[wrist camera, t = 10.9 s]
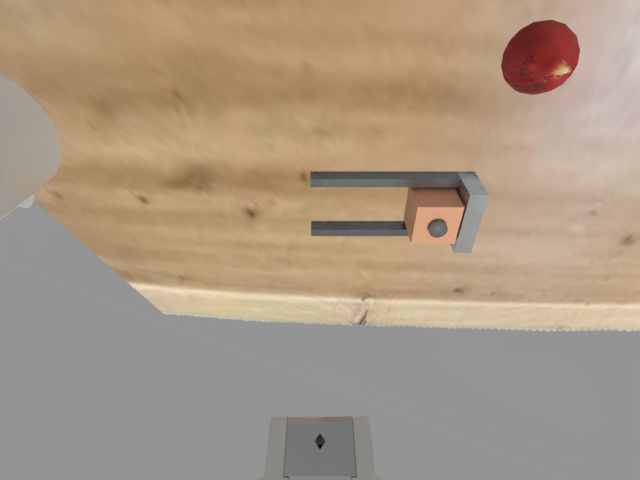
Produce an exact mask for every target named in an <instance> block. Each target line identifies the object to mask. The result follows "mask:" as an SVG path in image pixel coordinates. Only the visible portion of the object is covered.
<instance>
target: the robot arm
mask: <svg viewBox="0 0 640 480" xmlns="http://www.w3.org/2000/svg"><path fill="white" fill-rule="evenodd" d="M60 162H61V146H60V142H59V138H58V135H57V133H56V130H55V128H54V126H53V124H52V122H51V121H50V119H49V118H48V116H47V115H46V113H45V112H44V110H43V109H42V108H41V107H40V105H39V104H38V103H37V102H36V101H35V100H34V99H33V98H32V97H31V96H30V95H29V94H28V93H27V92H26V91H25V90H24V89H22V88H21V87H20V86H19V85H17V84H16V83H15V82H13V81H12V80H11V79H9V78H8V77H6V76H4V75H3V74H1V73H0V220H1V219H2V218H3V217H5V216H6V215H8V214H9V213H10V212H12V211H13V210H14V209H16V208H17V207H19V208H29V207H31V206H32V205H33V204H35V203H36V202H37V200H38V197H39V193H40V189H41V188H42V186H43V185H44V184H46V183H47V182H48V181H49V180H51V179H52V178H53V177H54V175H55V174H56V172H57V171H58V169H59V166H60ZM258 480H382V479H381V478H380V477H376V474H375V465H374V455H373V446H372V435H371V426H370V420H369V417H368V416H341V417H296V416H295V417H294V416H293V417H292V416H290V417H288V416H285V417H271V421H270V425H269V435H268V445H267V455H266V465H265V474H264V477H260V478H259V479H258Z"/></svg>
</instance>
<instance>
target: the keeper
mask: <svg viewBox="0 0 640 480" xmlns="http://www.w3.org/2000/svg"><path fill="white" fill-rule="evenodd" d="M464 208H465V207H464V205H463V203H462V201H461V199H460V198H459V196H458V194H457V192H456V190H455V188H454V187H409V189H408V195H407V201H406V207H405V213H404V221H405V225H406V228H407V232H408V235H409V239H410V242H411V244H455V240H456V236H457V233H458V229H459V226H460V222H461V218H462V215H463V211H464Z"/></svg>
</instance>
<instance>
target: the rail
mask: <svg viewBox="0 0 640 480" xmlns="http://www.w3.org/2000/svg"><path fill="white" fill-rule="evenodd" d="M310 187H454V188H455V190H456V192H457V194H458V196H459V198H460V199H461V201H462V203H463V205H464V207H465V208H464V211H463V215H462V218H461V222H460V226H459V229H458V233H457V236H456V240H455V244H450V245H451V247H452V250H453V252H454V253H471V251H472V248H473V245H474V242H475V239H476V235H477V232H478V229H479V226H480V223H481V220H482V217H483V213H484V210H485V207H486V204H487V201H488V198H489V193H488V192H487V190H486V189H485V187H484V186H483V184H482V182H481V181H480V179H479V178H478V176H477V174H476V173H475V172H469V171H310ZM311 236H409V235H408V232H407V228H406V225H405V221H311Z"/></svg>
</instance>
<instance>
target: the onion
mask: <svg viewBox="0 0 640 480" xmlns="http://www.w3.org/2000/svg"><path fill="white" fill-rule="evenodd" d="M579 54H580V47H579V43H578V39H577V36H576V35H575V34H574V32H573V31H572V30H571V29H570V28H569V27H568V26H567V25H566V24H564V23H561V22H558V21H555V20H544V21H537V22H533V23H531V24H529V25H527V26H526V27H524V28H522V29H520V30H519V31H518V32H517V33H516V34H515V35H514V36H513V37H512V39H511V40H510V41H509V43H508V45H507V47H506V48H505V50H504V52H503V58H502V63H501V68H502V73H503V77H504V79H505V81H506V82H507V83H508V84H509V85H510V86H511V87H512V88H513V89H514V90H515V91H517V92H519V93H525V94H530V95H536V94H541V93H545V92H549V91H552V90H554V89H555V88H557V87H559V86H561V85H562V84H563V83H564V82H565V81H566V80H567V79H568V78H569V77H570V76H571V75H572V73H573V71H574V70H575V68H576V66H577V65H578V60H579Z"/></svg>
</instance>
